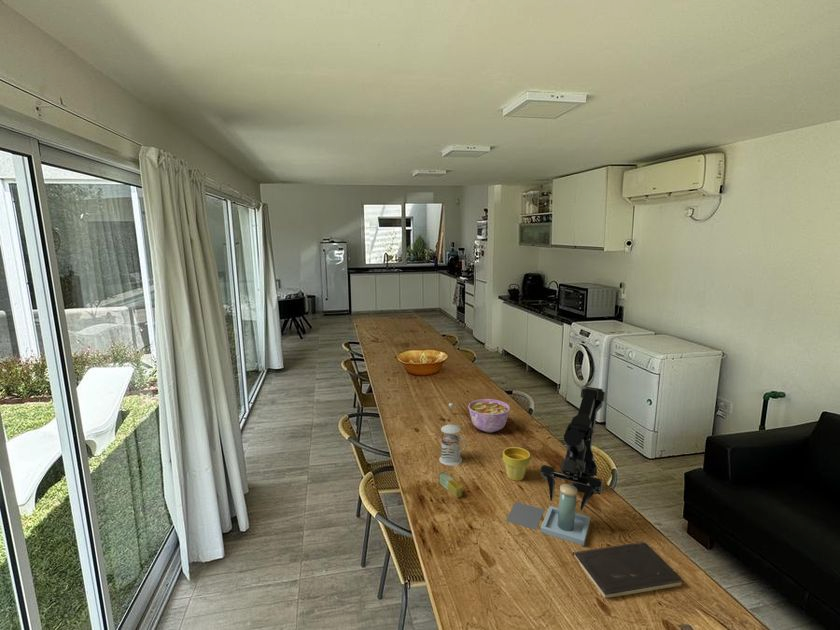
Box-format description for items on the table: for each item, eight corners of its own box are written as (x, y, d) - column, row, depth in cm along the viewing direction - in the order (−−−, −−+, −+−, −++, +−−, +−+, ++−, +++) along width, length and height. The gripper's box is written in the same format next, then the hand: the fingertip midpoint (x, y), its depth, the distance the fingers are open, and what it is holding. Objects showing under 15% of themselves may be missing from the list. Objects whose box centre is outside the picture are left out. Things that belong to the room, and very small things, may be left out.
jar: (555, 520, 143) (558, 483, 141) (571, 521, 143) (574, 484, 141) (559, 530, 138) (562, 492, 136) (576, 531, 138) (579, 493, 136)
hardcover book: (682, 588, 117) (683, 580, 117) (604, 601, 113) (605, 593, 113) (642, 547, 132) (643, 540, 132) (572, 557, 128) (572, 550, 128)
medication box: (438, 483, 167) (438, 473, 167) (444, 481, 169) (444, 471, 168) (457, 499, 157) (457, 488, 156) (463, 496, 159) (463, 486, 158)
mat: (515, 502, 154) (515, 501, 154) (544, 510, 150) (544, 509, 150) (505, 521, 144) (505, 520, 144) (535, 531, 139) (535, 529, 139)
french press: (445, 452, 191) (445, 397, 187) (470, 458, 185) (470, 402, 181) (434, 461, 183) (434, 405, 179) (459, 469, 177) (460, 410, 173)
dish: (549, 511, 149) (549, 505, 149) (589, 522, 143) (590, 516, 143) (540, 533, 138) (540, 527, 138) (583, 546, 132) (584, 540, 132)
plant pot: (529, 471, 175) (530, 448, 173) (528, 485, 165) (529, 461, 163) (503, 467, 178) (504, 445, 176) (501, 481, 168) (501, 457, 166)
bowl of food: (465, 435, 207) (465, 412, 205) (470, 418, 226) (470, 397, 224) (508, 440, 202) (509, 416, 200) (510, 422, 221) (510, 400, 219)
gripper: (542, 442, 144) (531, 489, 137) (603, 455, 135) (595, 507, 128) (548, 454, 152) (538, 499, 145) (605, 467, 143) (598, 516, 136)
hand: (565, 505), depth 138 cm, fingers open, 9 cm apart
